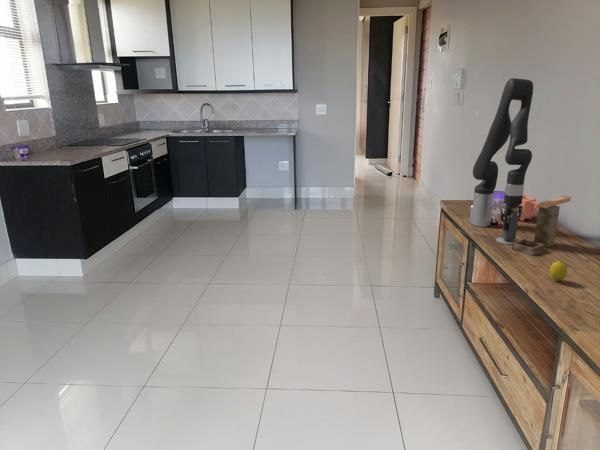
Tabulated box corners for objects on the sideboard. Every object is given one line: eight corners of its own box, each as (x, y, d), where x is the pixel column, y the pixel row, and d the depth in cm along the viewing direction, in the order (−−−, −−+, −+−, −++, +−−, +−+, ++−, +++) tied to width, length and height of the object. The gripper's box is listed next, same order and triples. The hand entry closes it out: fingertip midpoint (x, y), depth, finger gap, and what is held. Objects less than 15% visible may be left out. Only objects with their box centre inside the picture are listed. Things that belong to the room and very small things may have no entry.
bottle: (516, 240, 202) (521, 208, 198) (503, 239, 203) (507, 208, 199) (513, 236, 208) (517, 205, 203) (500, 235, 209) (503, 205, 205)
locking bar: (539, 206, 194) (539, 202, 194) (563, 199, 205) (564, 195, 205) (546, 208, 192) (546, 203, 191) (570, 201, 203) (571, 196, 202)
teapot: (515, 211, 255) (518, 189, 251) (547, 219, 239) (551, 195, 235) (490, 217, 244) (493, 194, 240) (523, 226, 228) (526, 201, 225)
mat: (491, 240, 207) (491, 239, 207) (504, 236, 213) (504, 235, 213) (511, 246, 199) (511, 245, 199) (524, 242, 205) (524, 241, 205)
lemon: (544, 278, 166) (548, 258, 163) (558, 277, 166) (562, 257, 164) (554, 284, 160) (557, 264, 158) (568, 283, 161) (572, 263, 158)
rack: (511, 249, 196) (516, 210, 190) (536, 240, 207) (542, 203, 201) (532, 255, 188) (538, 215, 183) (557, 245, 199) (563, 207, 194)
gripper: (515, 189, 206) (510, 224, 211) (497, 194, 199) (492, 229, 203) (530, 192, 200) (525, 228, 205) (512, 197, 193) (508, 233, 198)
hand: (509, 228), depth 204 cm, fingers closed on bottle, 6 cm apart
